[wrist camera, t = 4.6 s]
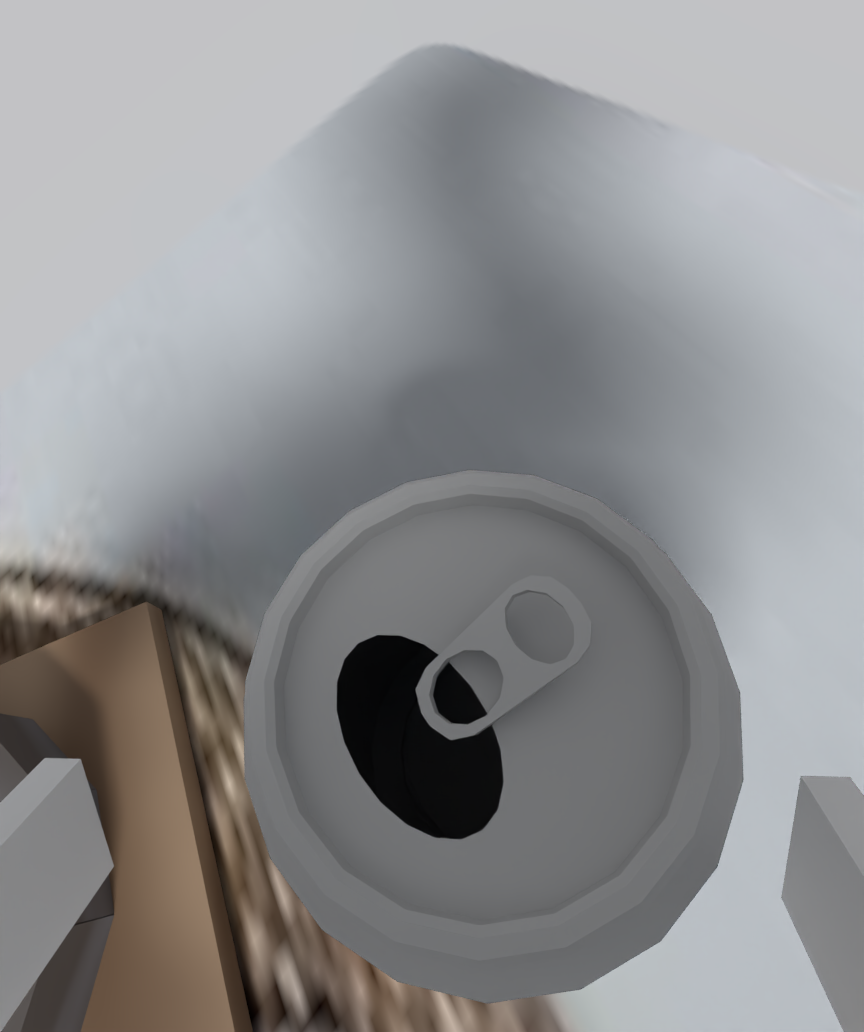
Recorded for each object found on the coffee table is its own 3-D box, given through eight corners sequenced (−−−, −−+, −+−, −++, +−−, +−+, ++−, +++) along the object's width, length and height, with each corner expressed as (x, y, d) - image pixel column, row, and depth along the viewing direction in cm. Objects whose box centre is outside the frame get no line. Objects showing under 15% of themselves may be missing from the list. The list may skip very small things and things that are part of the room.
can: (332, 723, 20) (103, 621, 9) (518, 584, 21) (517, 344, 10) (476, 960, 16) (393, 1253, 6) (684, 781, 18) (947, 741, 7)
